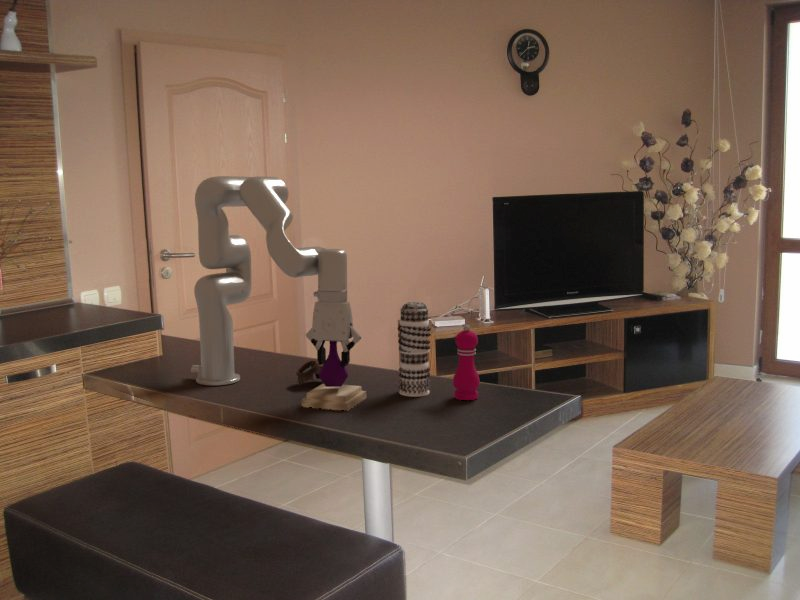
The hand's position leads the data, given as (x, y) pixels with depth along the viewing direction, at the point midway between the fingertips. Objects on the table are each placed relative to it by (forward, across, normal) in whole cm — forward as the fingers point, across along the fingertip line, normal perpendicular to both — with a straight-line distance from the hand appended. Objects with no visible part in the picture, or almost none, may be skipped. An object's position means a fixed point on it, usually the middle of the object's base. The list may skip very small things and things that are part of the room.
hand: (333, 364), depth 204 cm
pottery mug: (+11, -13, +16) cm, 23 cm away
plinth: (+10, 0, 0) cm, 10 cm away
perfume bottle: (+6, 0, 0) cm, 6 cm away
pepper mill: (+10, +32, +15) cm, 37 cm away
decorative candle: (+10, +17, +16) cm, 26 cm away
